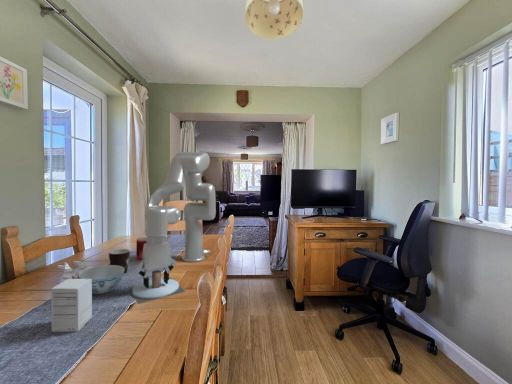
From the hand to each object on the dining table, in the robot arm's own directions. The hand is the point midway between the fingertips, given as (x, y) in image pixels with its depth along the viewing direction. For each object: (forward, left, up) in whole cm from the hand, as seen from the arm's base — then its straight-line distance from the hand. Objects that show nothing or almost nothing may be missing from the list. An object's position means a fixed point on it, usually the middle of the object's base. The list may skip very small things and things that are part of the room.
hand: (156, 284), depth 99 cm
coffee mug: (+7, -30, -3) cm, 31 cm away
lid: (0, 0, -2) cm, 2 cm away
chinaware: (+17, -11, -3) cm, 20 cm away
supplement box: (+27, +10, -3) cm, 29 cm away
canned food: (-7, -46, -3) cm, 47 cm away
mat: (0, 0, -2) cm, 2 cm away
